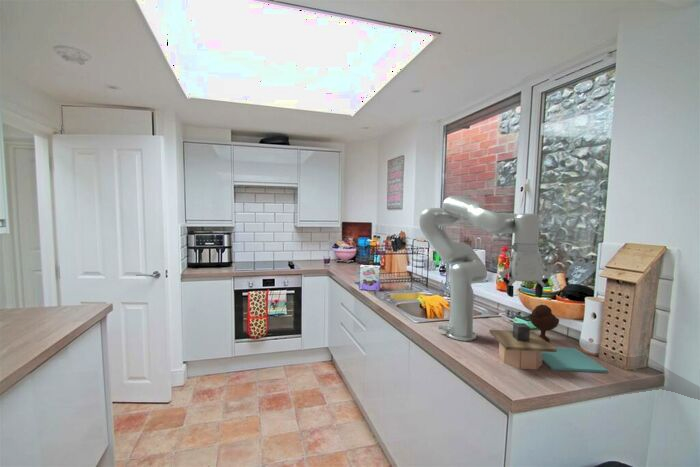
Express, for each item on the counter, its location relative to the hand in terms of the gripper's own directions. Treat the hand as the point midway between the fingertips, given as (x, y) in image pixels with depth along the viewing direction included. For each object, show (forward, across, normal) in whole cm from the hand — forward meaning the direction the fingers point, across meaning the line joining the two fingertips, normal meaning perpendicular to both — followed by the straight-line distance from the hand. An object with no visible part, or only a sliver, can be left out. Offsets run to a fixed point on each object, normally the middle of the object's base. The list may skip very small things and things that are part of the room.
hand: (524, 296), depth 115 cm
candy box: (+21, -56, +100) cm, 117 cm away
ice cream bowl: (+23, +18, +22) cm, 37 cm away
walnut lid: (+16, -1, 0) cm, 16 cm away
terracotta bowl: (+23, -1, 0) cm, 23 cm away
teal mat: (+23, +16, +3) cm, 28 cm away
